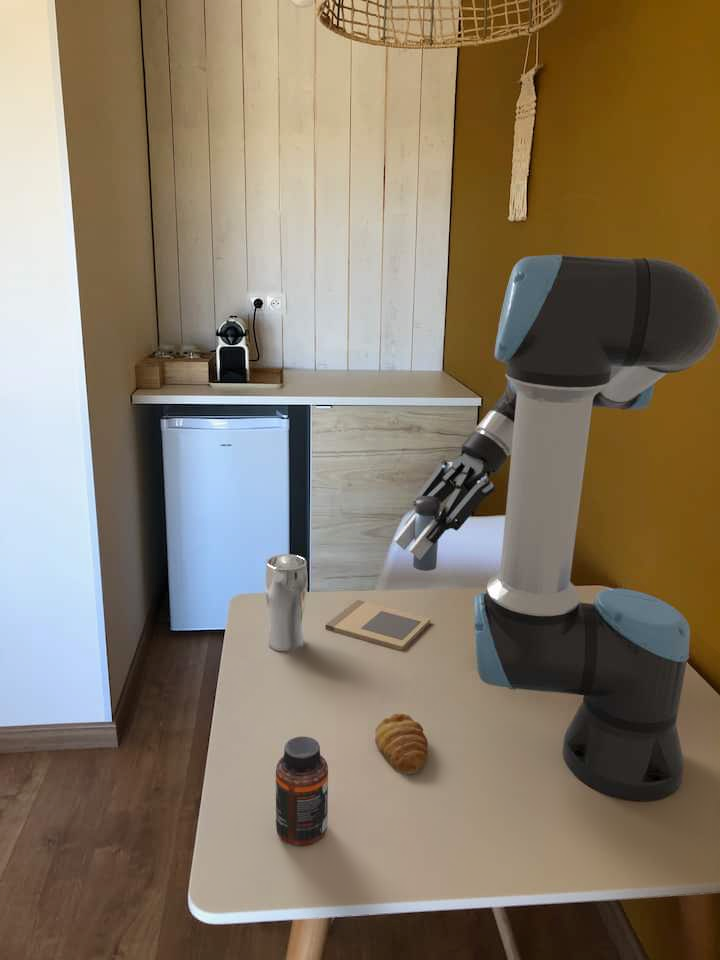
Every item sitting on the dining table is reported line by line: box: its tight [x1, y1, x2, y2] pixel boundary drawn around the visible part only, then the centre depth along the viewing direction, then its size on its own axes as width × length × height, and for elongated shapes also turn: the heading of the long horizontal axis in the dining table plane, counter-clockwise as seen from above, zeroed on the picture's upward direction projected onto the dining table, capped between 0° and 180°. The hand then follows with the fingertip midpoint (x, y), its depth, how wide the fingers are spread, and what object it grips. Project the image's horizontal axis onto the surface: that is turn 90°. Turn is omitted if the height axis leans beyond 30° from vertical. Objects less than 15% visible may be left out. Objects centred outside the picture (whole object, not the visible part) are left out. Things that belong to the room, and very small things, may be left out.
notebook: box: [325, 599, 431, 651], centre depth 139 cm, size 12×15×1 cm
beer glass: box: [264, 553, 308, 653], centre depth 130 cm, size 7×7×15 cm
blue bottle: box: [412, 496, 442, 572], centre depth 131 cm, size 4×4×12 cm
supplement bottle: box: [275, 736, 329, 847], centre depth 88 cm, size 6×6×11 cm
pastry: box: [374, 713, 429, 775], centre depth 103 cm, size 9×7×4 cm
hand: (406, 549), depth 130 cm, fingers closed on blue bottle, 4 cm apart
